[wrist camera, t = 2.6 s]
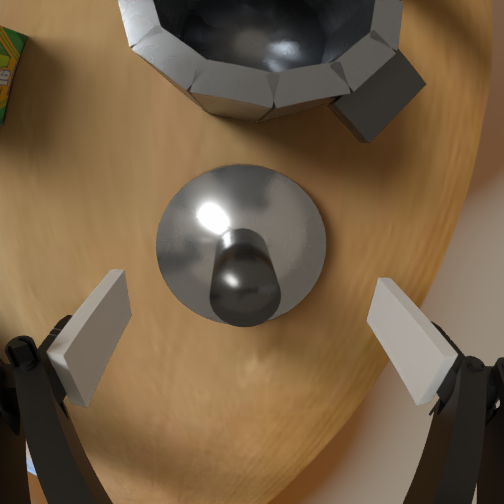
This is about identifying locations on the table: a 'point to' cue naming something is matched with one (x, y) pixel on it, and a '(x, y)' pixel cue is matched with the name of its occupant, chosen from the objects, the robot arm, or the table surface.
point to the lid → (241, 244)
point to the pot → (279, 56)
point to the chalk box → (8, 62)
